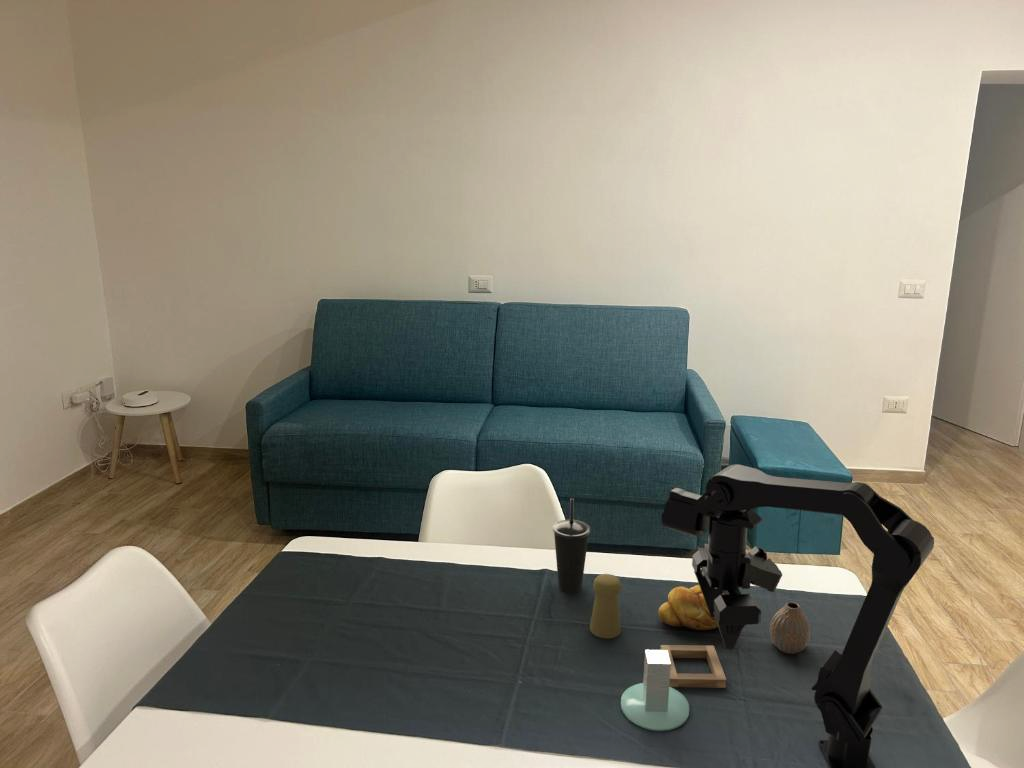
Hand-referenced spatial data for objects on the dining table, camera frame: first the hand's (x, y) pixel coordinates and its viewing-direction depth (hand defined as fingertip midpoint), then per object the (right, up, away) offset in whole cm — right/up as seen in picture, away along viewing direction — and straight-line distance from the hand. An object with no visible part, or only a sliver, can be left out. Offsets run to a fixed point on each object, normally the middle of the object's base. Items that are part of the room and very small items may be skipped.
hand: (721, 632), depth 129 cm
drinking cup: (-22, -2, +37) cm, 43 cm away
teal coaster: (-11, -13, +1) cm, 17 cm away
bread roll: (+1, -6, +26) cm, 26 cm away
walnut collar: (-2, -10, +11) cm, 15 cm away
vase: (+17, -8, +17) cm, 25 cm away
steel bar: (-11, -12, +1) cm, 16 cm away
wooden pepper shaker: (-16, -7, +23) cm, 29 cm away
